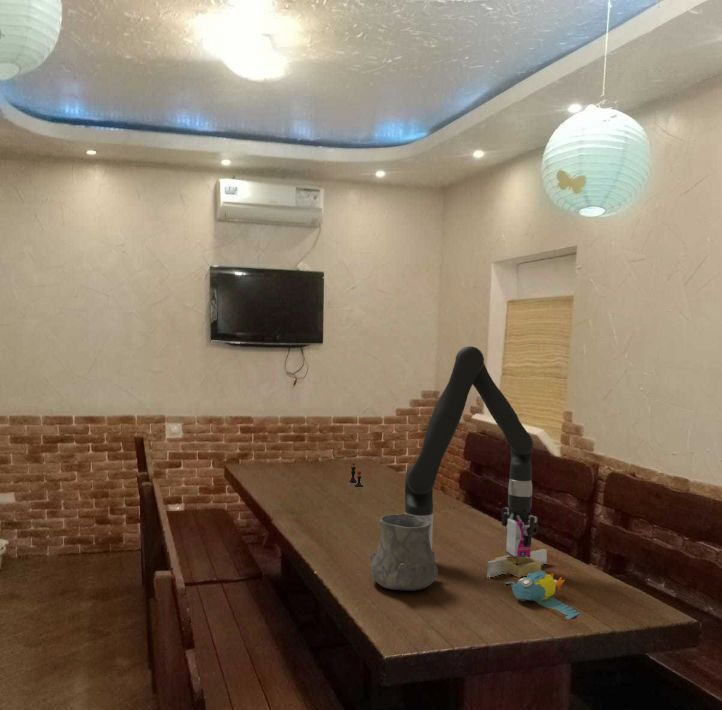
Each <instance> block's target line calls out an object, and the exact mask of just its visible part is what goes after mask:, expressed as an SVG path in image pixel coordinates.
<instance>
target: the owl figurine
mask: <svg viewBox="0 0 722 710" xmlns="http://www.w3.org/2000/svg"><path fill="white" fill-rule="evenodd" d="M554 575H555V573H554V572H553V573H551V572H550V573H549V574H548V573H546V571H543V570H541V571H536V572H535V573H534V574H533V573H531V574H530V573H529V574H528V575H527V577H523V578H519V579H518V582H517V584H515V583H514V582H515V581H507V582H505V583H506V584H508V585H510V584H511V583H512V584H513V585H512V587H513V588H511V590H512V593H513V594H514V597H515V598H516V599H518V600H525V601H533V602H534V601H535V602H537V603H538V604H537V603H536V604H537V605H539V604H540V605H539V606H541V605H543V606H545V607H547V608H552V609H556V610H558V611H560V612H561V613H563V614H565V615H568V616H565V619H566V618H567V619H566V620H569V619H570V620H572V619H573V618H576V617H575V616H577V615H578V614H580V615H581V613H580V612H579V611H577V610H576V609H574V608H573V607H572V606H569V605H566V603H563V602H562V601H561V600H559V599H557V598H555V597H554V596H553V595H555V594H556V588H557V590H559V591H560V589H561V586H562V585H563V584H564V582H565V580H566V579H563V577H562V576H561V577H559V578H558V580H557V579H554ZM535 602H534V603H535ZM543 606H542V607H543ZM545 607H544V608H545ZM547 608H546V609H547Z"/></svg>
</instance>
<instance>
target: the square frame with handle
mask: <svg viewBox="0 0 722 710" xmlns="http://www.w3.org/2000/svg"><path fill="white" fill-rule="evenodd" d="M547 555H548V550H547V549H546V548H541V549H537V550H532V551H530V557H519V558H514V557H512V556H511V555H509V554H507V555H502V556H498V557H497V556H496V557H494V559H491V560H489V561H487V564H486V569H487V570H486V578H488V577H489V578H488V579H491V578H490V577H493V578H495V577H494V576H497V577H499V576H498V575H501V574H505V573H510V574H512V575H514V576H517V577H522V576H526V575H528V574H529V573H530V574H531V573H533V574H534V573H535V572H536V571H542V566H544V565H543V564H546V565H547V560H548V559H547ZM516 564H519V565H520V566H519V565H516ZM541 565H542V566H541ZM505 575H506V574H505ZM501 576H502V575H501ZM514 576H513V577H514Z"/></svg>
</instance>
